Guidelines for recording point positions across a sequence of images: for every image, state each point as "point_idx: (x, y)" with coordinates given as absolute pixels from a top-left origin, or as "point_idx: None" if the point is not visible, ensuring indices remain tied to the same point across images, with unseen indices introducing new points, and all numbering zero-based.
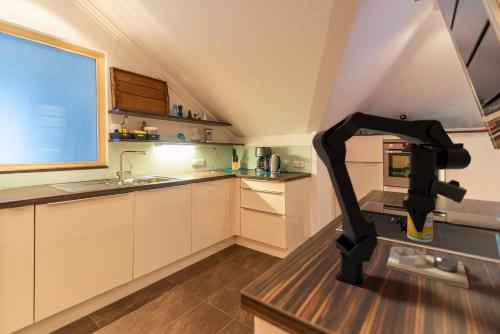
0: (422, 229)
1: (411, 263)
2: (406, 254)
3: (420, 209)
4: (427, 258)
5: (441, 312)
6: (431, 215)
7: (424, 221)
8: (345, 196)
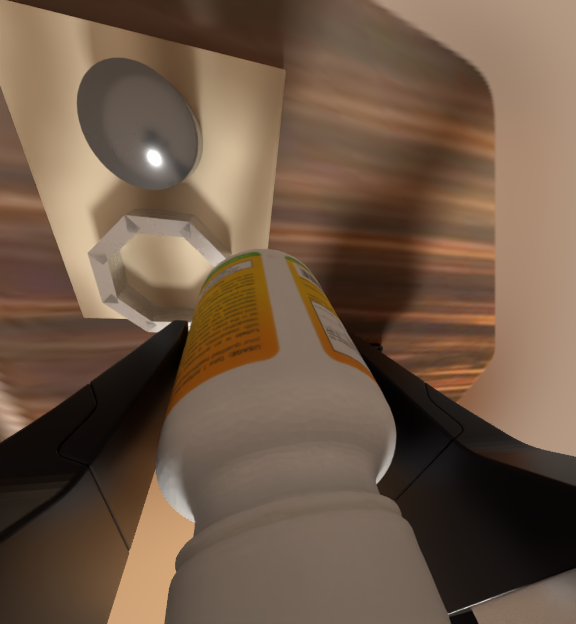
0: (364, 342)
1: None
2: (124, 275)
3: None
4: (92, 198)
5: (440, 203)
6: (365, 388)
7: (424, 385)
8: None
